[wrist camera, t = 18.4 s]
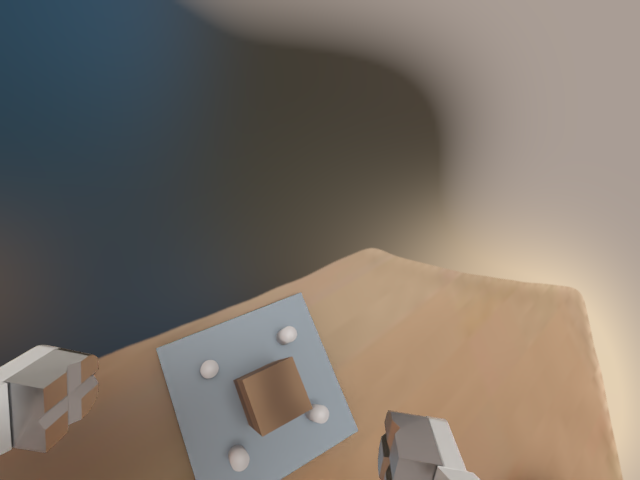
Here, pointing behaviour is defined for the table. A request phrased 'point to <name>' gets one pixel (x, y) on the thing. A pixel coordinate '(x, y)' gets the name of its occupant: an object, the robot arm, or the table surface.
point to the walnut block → (272, 395)
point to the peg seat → (224, 403)
